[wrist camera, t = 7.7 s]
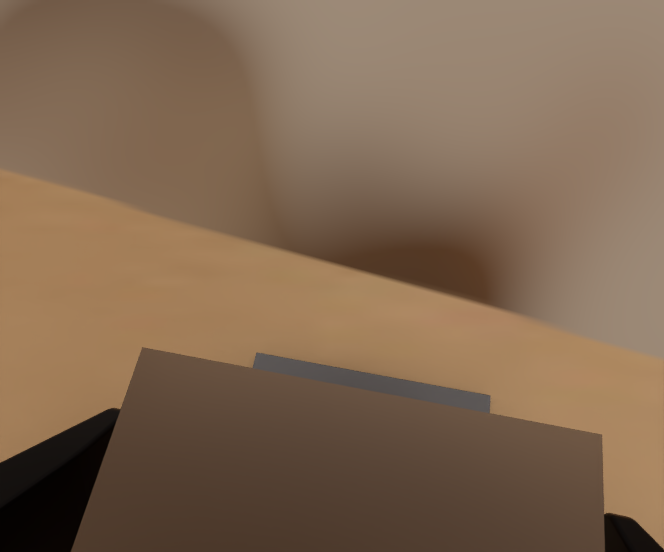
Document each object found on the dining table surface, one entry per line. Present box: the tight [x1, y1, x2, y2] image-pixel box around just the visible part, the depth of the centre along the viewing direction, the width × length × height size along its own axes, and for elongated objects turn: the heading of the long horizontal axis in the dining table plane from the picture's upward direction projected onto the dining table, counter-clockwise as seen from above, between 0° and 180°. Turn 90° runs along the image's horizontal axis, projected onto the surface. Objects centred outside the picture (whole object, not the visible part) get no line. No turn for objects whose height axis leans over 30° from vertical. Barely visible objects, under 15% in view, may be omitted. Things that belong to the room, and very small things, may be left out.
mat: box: [253, 353, 490, 413], centre depth 15 cm, size 9×9×1 cm
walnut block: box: [71, 347, 605, 552], centre depth 9 cm, size 5×5×12 cm
